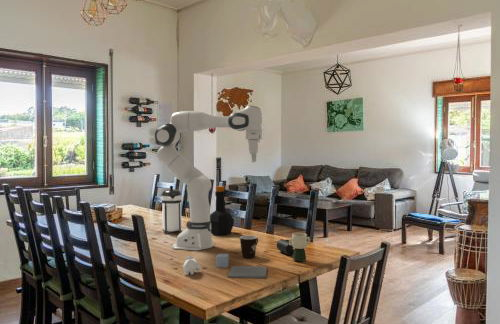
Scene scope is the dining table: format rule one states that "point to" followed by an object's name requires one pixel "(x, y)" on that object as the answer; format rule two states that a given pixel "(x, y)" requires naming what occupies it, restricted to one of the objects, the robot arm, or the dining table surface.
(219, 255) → the slate cube
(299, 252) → the character mug
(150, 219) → the dining table surface
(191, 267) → the elephant figurine
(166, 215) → the coffee press
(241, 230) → the dining table surface
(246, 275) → the charcoal mat
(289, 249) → the end cap
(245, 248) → the coffee mug
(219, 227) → the bottle
